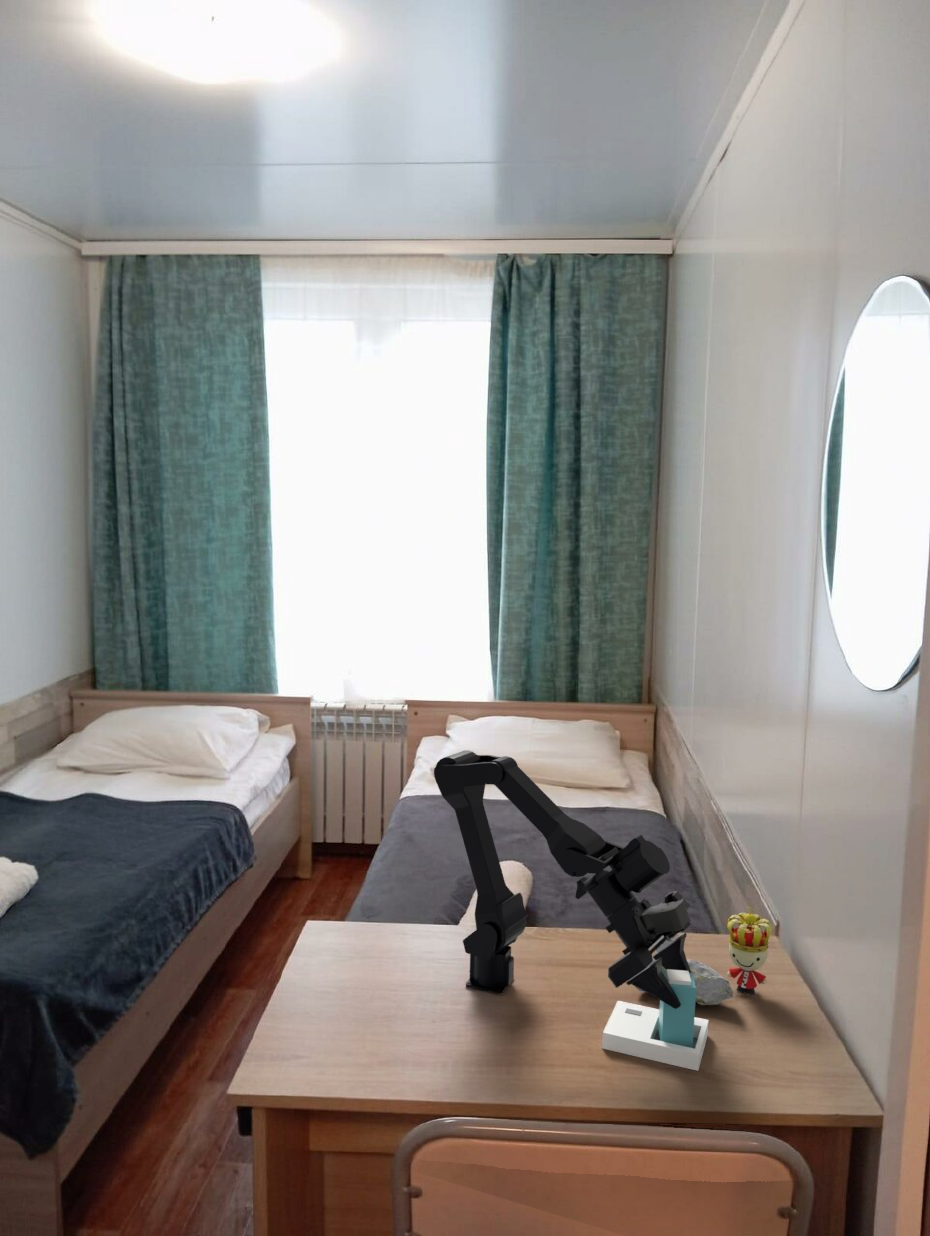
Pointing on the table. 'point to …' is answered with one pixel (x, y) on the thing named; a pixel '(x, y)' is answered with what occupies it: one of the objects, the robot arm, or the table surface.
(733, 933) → the toy
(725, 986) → the rock
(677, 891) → the robot arm
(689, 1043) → the plug
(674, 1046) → the socket plate
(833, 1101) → the table surface
